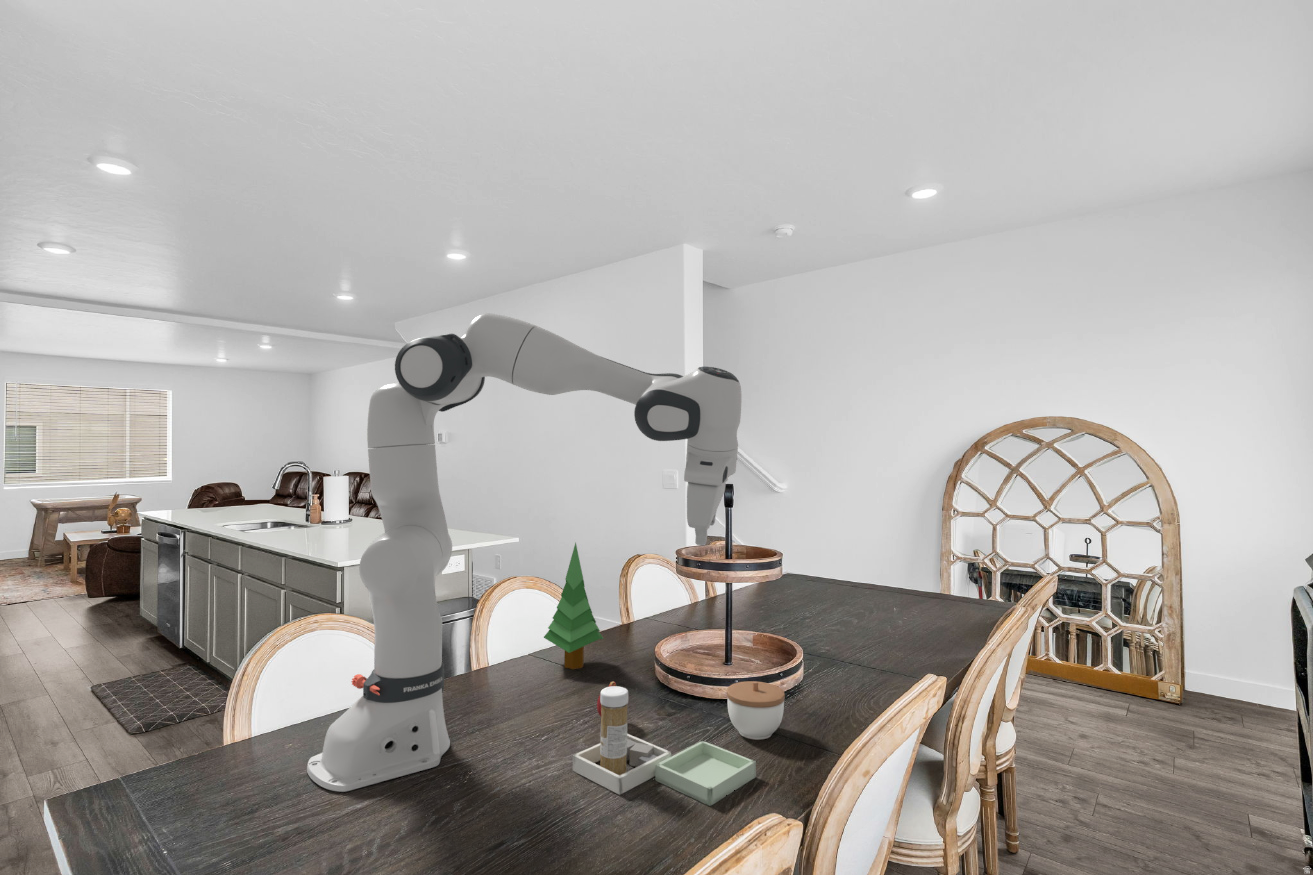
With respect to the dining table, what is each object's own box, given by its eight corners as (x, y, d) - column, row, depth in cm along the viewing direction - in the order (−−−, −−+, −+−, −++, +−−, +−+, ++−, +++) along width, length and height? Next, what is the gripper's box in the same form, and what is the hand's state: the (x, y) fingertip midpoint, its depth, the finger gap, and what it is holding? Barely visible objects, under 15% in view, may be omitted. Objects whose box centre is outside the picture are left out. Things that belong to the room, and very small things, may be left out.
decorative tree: (582, 680, 150) (583, 548, 150) (530, 667, 158) (532, 542, 158) (616, 664, 161) (618, 541, 162) (566, 653, 170) (568, 536, 170)
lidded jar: (739, 748, 117) (740, 695, 117) (718, 723, 127) (718, 674, 127) (794, 741, 119) (795, 689, 120) (769, 718, 130) (769, 670, 130)
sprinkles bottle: (599, 767, 109) (600, 685, 109) (626, 766, 110) (627, 684, 110) (599, 780, 105) (600, 695, 105) (628, 779, 105) (629, 695, 105)
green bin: (710, 806, 98) (710, 789, 98) (655, 780, 105) (655, 764, 105) (755, 776, 106) (755, 761, 106) (702, 755, 114) (702, 740, 114)
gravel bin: (619, 794, 101) (619, 777, 101) (572, 770, 108) (572, 754, 108) (671, 767, 109) (671, 751, 109) (624, 746, 117) (624, 731, 117)
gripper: (703, 443, 126) (698, 511, 130) (682, 475, 107) (676, 553, 110) (736, 447, 125) (730, 515, 128) (720, 479, 105) (714, 559, 109)
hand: (705, 533), depth 119 cm, fingers open, 8 cm apart
